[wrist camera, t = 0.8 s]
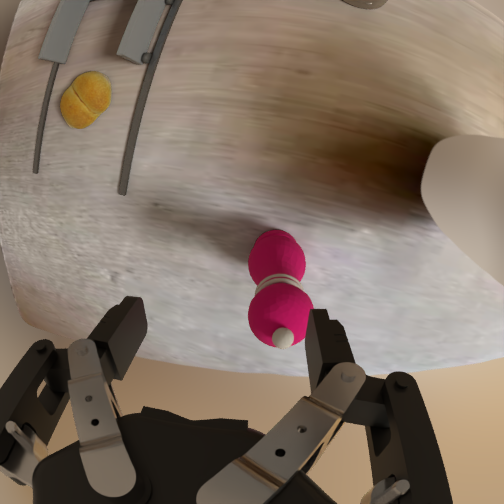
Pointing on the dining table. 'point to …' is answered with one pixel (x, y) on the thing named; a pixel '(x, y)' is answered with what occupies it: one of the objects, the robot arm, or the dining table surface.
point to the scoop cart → (132, 40)
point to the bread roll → (86, 99)
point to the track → (139, 107)
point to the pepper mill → (278, 290)
